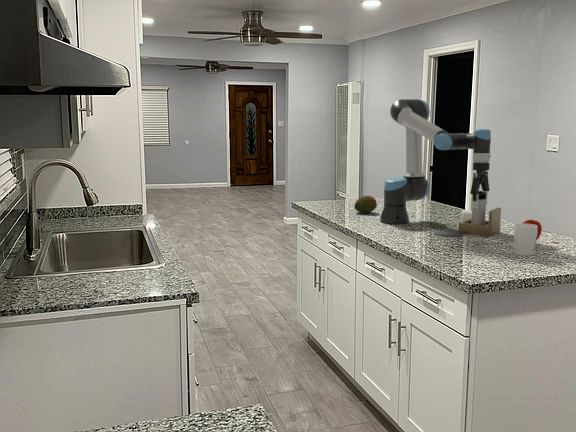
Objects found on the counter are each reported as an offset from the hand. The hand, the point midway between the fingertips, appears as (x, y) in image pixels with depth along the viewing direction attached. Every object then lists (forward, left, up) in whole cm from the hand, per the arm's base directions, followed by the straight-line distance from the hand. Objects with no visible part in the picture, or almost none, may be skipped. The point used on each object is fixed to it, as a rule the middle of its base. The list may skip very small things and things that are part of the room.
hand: (479, 206), depth 278 cm
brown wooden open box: (0, 0, -13) cm, 13 cm away
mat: (-10, -11, -13) cm, 20 cm away
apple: (+27, -11, -13) cm, 32 cm away
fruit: (-73, +21, -13) cm, 77 cm away
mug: (-9, +17, -13) cm, 24 cm away
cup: (+30, -34, -13) cm, 47 cm away
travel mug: (0, 0, -13) cm, 13 cm away
